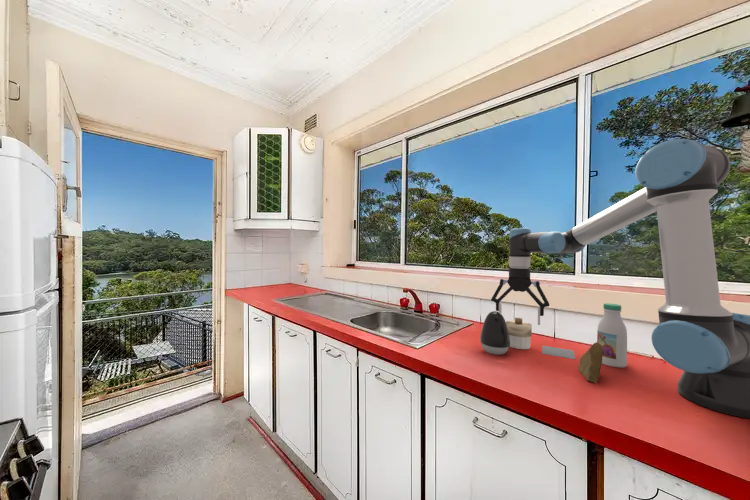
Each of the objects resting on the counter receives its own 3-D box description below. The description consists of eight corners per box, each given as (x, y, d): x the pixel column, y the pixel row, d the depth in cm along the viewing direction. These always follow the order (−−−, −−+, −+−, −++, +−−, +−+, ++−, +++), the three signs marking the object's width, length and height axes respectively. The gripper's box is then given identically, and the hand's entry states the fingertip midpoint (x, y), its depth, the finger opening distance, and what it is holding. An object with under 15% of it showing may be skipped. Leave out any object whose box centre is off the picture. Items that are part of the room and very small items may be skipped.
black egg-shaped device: (482, 356, 100) (482, 313, 100) (478, 346, 110) (478, 307, 110) (513, 359, 98) (513, 315, 98) (506, 348, 108) (507, 309, 108)
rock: (608, 380, 77) (621, 367, 83) (585, 351, 81) (599, 340, 87) (573, 390, 85) (587, 377, 91) (554, 362, 89) (568, 352, 94)
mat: (575, 360, 97) (575, 359, 97) (542, 354, 102) (542, 353, 102) (573, 351, 106) (573, 350, 106) (542, 346, 111) (542, 345, 111)
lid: (531, 338, 105) (531, 322, 105) (504, 334, 109) (504, 319, 109) (531, 332, 112) (532, 317, 112) (507, 329, 117) (507, 314, 117)
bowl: (529, 351, 105) (529, 338, 105) (506, 347, 109) (506, 334, 109) (530, 345, 112) (530, 332, 112) (508, 341, 116) (508, 329, 116)
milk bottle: (615, 359, 98) (616, 302, 98) (633, 369, 90) (634, 307, 90) (591, 358, 99) (592, 301, 99) (607, 368, 91) (608, 306, 91)
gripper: (556, 268, 107) (556, 324, 107) (487, 265, 120) (486, 315, 120) (557, 269, 101) (557, 328, 101) (484, 266, 114) (483, 319, 114)
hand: (518, 321), depth 111 cm, fingers open, 13 cm apart
